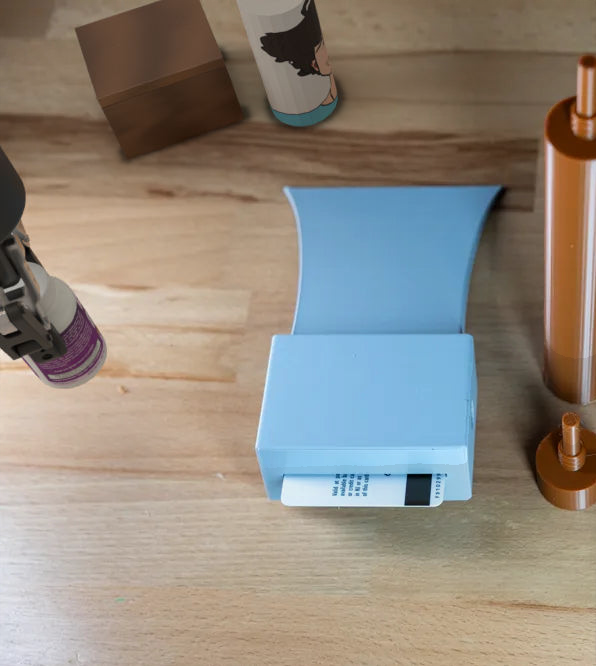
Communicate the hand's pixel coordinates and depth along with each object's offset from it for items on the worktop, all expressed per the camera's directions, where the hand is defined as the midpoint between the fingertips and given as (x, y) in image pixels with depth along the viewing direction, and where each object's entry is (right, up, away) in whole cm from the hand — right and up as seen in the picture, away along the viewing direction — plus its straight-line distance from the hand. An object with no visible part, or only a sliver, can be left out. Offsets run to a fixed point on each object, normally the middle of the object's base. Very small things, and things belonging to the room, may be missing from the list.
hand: (43, 319), depth 80 cm
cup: (+11, +22, +38) cm, 45 cm away
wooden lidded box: (-2, +22, +39) cm, 44 cm away
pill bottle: (0, -3, +5) cm, 6 cm away
